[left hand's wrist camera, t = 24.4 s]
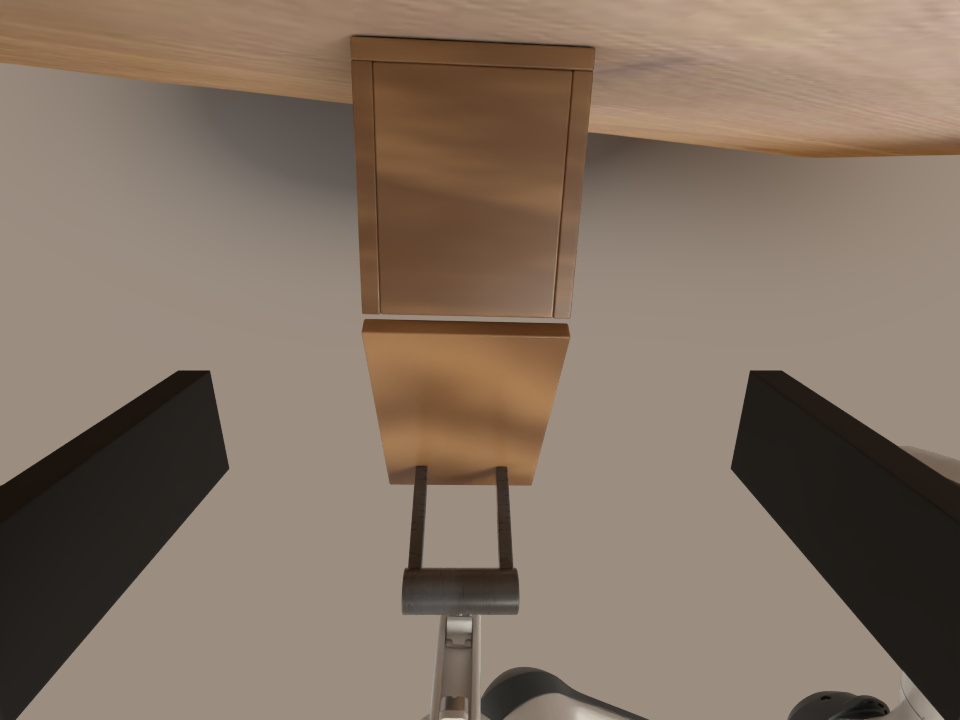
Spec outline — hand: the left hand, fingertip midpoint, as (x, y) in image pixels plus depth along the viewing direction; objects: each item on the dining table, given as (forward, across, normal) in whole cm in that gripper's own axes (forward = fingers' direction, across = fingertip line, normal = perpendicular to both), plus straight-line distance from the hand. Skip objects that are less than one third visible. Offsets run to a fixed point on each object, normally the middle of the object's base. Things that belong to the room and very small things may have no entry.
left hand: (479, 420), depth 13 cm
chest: (+17, 0, -10) cm, 20 cm away
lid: (+14, +1, +6) cm, 15 cm away
